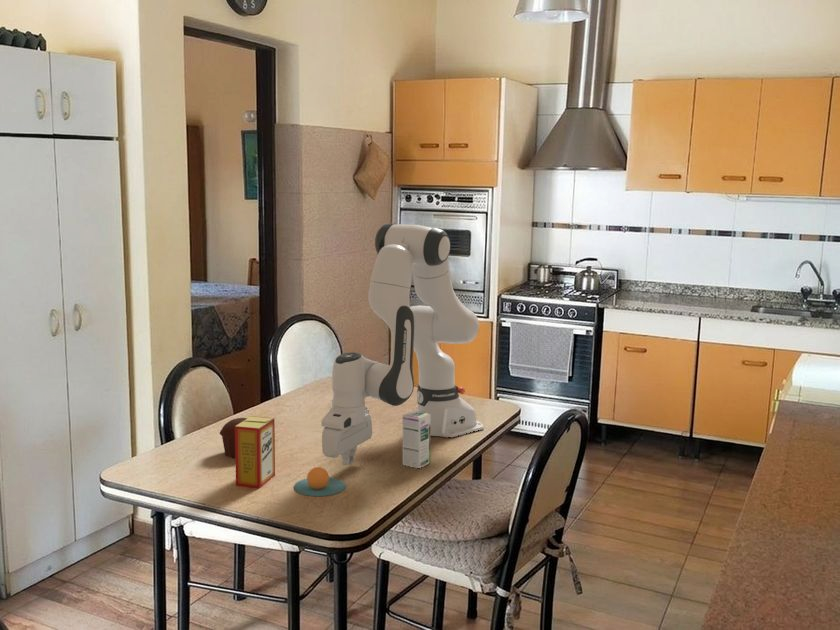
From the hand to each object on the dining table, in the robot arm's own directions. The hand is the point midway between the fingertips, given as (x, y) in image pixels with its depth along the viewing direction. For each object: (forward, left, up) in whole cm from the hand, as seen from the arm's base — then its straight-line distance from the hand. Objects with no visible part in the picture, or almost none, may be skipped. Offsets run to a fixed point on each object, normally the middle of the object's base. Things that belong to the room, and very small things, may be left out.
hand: (348, 463), depth 221 cm
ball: (+13, +9, +1) cm, 15 cm away
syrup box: (-18, +4, -2) cm, 19 cm away
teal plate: (+12, +8, -2) cm, 14 cm away
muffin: (+22, -26, -2) cm, 34 cm away
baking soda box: (+25, -4, -2) cm, 25 cm away
